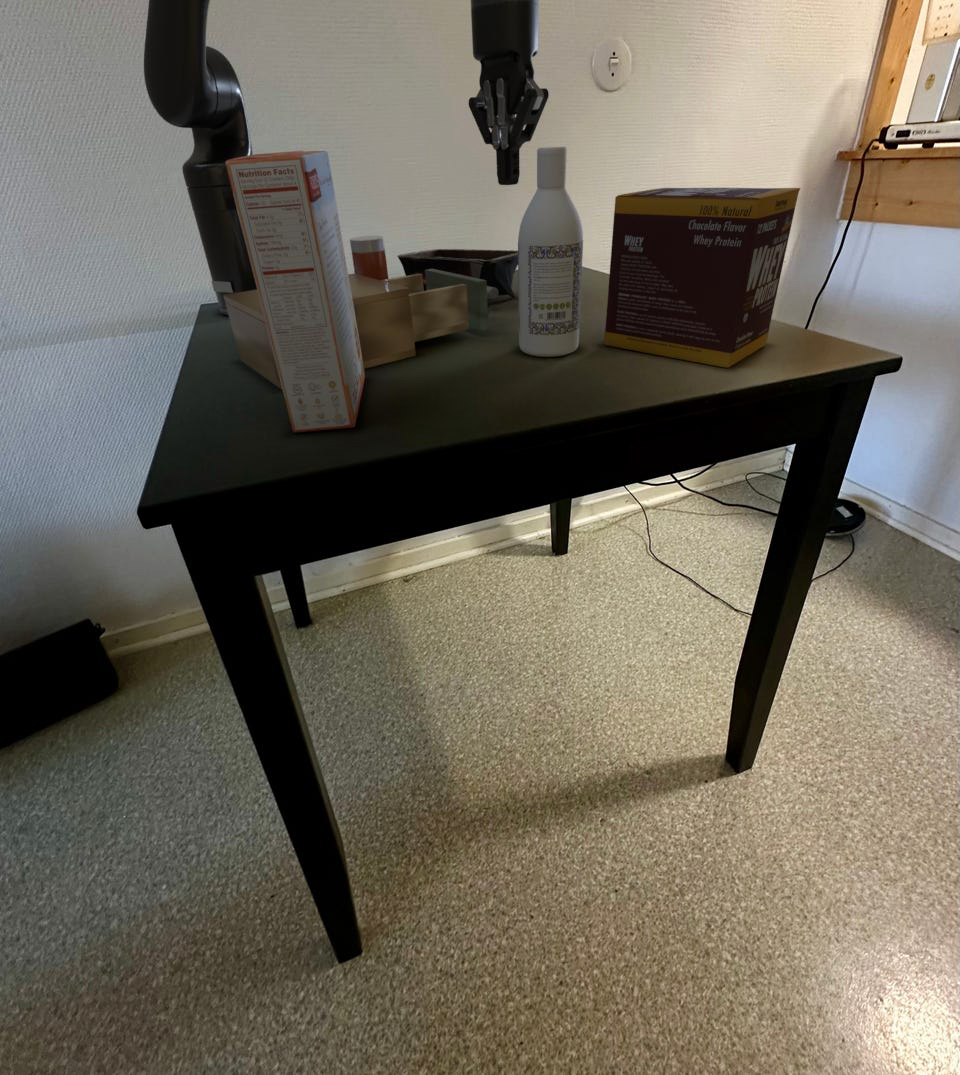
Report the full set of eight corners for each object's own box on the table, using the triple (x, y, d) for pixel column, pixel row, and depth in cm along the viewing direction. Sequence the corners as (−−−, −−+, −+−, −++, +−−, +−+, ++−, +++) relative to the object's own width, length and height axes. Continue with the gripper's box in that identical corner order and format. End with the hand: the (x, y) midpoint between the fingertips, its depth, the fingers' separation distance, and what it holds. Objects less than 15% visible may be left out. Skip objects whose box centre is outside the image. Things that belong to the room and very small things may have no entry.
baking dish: (454, 301, 103) (439, 238, 98) (542, 293, 93) (531, 222, 88) (399, 328, 94) (380, 260, 89) (490, 322, 84) (475, 245, 79)
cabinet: (363, 334, 81) (354, 273, 76) (416, 355, 71) (409, 287, 67) (240, 361, 73) (223, 294, 69) (281, 389, 63) (263, 314, 59)
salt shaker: (357, 324, 85) (343, 238, 79) (384, 319, 87) (373, 234, 81) (371, 330, 82) (358, 241, 76) (399, 324, 84) (389, 237, 78)
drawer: (460, 307, 87) (457, 264, 84) (514, 322, 78) (513, 274, 75) (335, 334, 78) (326, 286, 74) (380, 355, 69) (373, 302, 66)
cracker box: (311, 382, 65) (263, 152, 53) (367, 378, 65) (331, 148, 53) (287, 435, 53) (219, 155, 42) (356, 430, 53) (307, 150, 42)
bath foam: (590, 351, 69) (601, 144, 58) (538, 362, 67) (539, 148, 56) (558, 338, 75) (562, 146, 64) (508, 347, 72) (504, 149, 61)
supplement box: (730, 369, 62) (762, 196, 53) (602, 345, 71) (612, 194, 62) (769, 345, 68) (803, 186, 60) (647, 326, 77) (662, 186, 69)
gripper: (570, -6, 64) (565, 183, 74) (495, 16, 73) (499, 181, 83) (515, -11, 60) (518, 188, 70) (443, 13, 70) (454, 186, 79)
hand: (508, 184), depth 76 cm, fingers closed
